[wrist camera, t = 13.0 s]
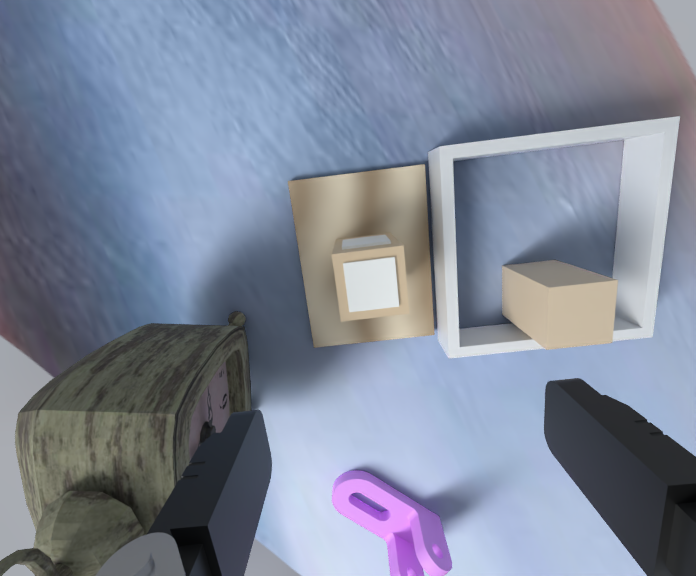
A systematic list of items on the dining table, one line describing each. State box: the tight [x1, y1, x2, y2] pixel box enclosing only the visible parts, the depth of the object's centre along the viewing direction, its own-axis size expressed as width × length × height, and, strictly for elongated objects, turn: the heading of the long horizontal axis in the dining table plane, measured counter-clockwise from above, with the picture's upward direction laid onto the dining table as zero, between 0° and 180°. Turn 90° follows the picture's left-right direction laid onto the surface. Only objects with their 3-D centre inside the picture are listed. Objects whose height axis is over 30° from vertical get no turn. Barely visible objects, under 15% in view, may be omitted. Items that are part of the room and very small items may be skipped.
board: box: [288, 164, 434, 348], centre depth 33 cm, size 12×16×1 cm
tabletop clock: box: [0, 311, 251, 576], centre depth 24 cm, size 14×9×25 cm, turn 178°
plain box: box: [502, 260, 618, 350], centre depth 30 cm, size 5×5×8 cm
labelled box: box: [332, 233, 409, 322], centre depth 28 cm, size 5×5×8 cm
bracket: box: [332, 470, 452, 576], centre depth 38 cm, size 13×6×7 cm, turn 53°
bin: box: [428, 116, 680, 358], centre depth 31 cm, size 18×18×4 cm
